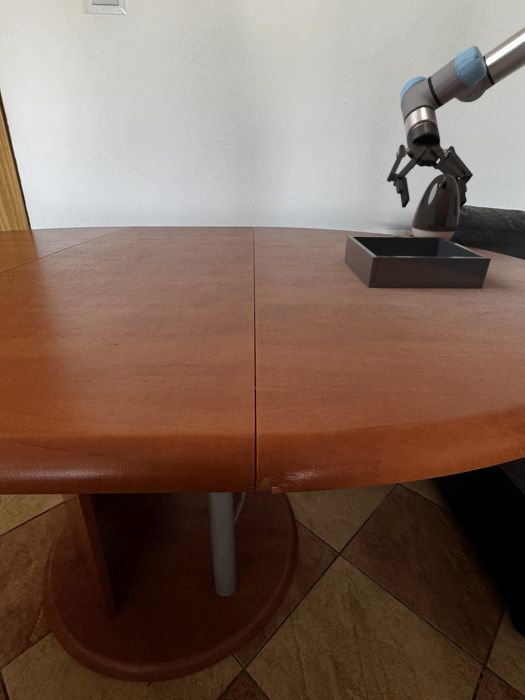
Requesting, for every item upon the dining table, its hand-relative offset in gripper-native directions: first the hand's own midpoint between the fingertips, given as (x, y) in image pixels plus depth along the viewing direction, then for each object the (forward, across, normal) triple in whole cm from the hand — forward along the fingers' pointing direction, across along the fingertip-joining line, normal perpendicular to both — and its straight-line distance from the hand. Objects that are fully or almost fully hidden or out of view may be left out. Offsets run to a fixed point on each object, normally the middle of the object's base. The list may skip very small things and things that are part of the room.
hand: (434, 204), depth 89 cm
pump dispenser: (+8, 0, -5) cm, 9 cm away
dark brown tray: (+26, +16, +14) cm, 33 cm away
